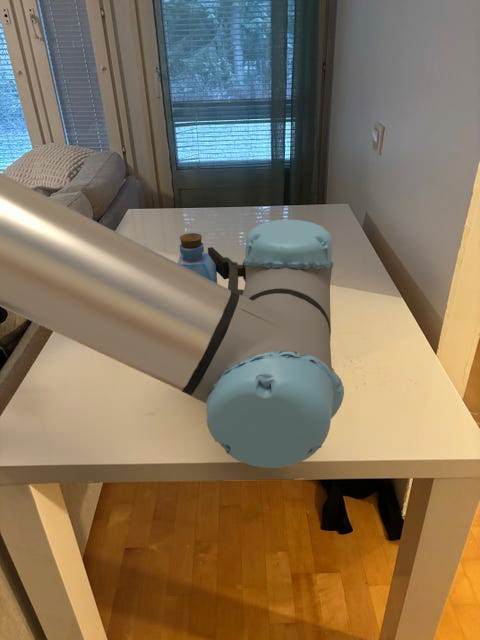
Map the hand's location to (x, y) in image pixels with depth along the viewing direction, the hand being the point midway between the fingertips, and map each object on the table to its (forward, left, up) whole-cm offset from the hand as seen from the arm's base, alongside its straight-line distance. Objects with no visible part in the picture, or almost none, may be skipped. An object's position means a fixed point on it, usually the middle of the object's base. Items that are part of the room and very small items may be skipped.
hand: (183, 260), depth 73 cm
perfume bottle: (+4, -3, -7) cm, 8 cm away
